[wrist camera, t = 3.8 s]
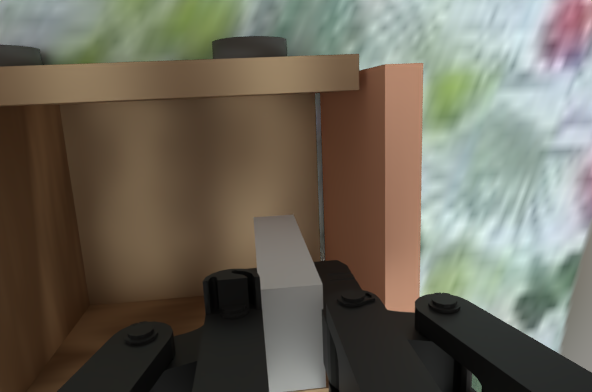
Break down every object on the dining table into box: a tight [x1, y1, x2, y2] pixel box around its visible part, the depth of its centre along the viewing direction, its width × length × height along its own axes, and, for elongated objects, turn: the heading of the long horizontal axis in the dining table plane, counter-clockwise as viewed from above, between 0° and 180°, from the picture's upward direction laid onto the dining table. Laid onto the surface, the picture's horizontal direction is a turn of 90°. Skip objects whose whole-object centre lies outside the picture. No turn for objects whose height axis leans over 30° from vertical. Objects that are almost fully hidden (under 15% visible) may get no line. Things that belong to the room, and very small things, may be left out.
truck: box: [0, 36, 359, 392], centre depth 21 cm, size 19×17×14 cm
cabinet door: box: [320, 63, 423, 313], centre depth 21 cm, size 2×13×12 cm, turn 2°
